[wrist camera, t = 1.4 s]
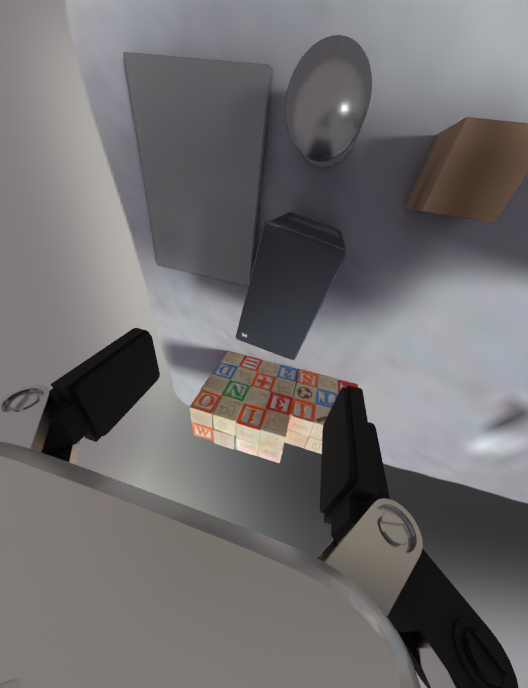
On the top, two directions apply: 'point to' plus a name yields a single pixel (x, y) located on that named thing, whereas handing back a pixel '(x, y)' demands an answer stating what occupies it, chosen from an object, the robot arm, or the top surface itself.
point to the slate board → (201, 158)
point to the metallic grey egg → (328, 99)
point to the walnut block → (472, 169)
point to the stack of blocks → (263, 406)
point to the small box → (289, 283)
